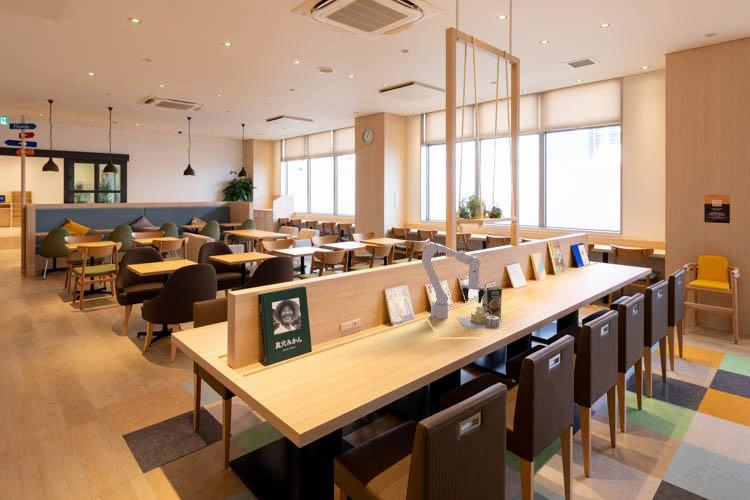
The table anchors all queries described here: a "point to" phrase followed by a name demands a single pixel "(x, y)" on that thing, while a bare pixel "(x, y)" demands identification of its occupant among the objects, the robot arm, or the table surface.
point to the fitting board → (473, 324)
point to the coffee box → (492, 301)
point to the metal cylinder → (480, 310)
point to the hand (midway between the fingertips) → (473, 301)
